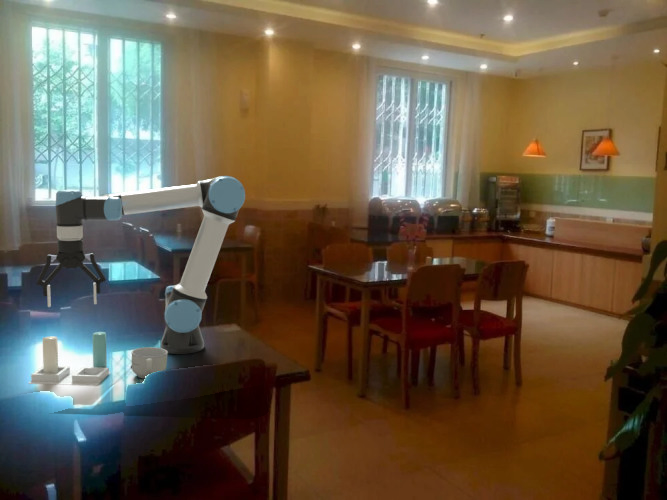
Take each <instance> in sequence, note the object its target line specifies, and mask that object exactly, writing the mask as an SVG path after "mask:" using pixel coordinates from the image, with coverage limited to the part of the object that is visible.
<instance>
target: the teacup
mask: <svg viewBox="0 0 667 500" xmlns="http://www.w3.org/2000/svg"><path fill="white" fill-rule="evenodd" d="M130 353H131V371H132V372H133V373H134V374H135V375H136V376H137V377H138V378H140V379H146V378H145V376H147V375H148V374H151V373H153V372H157V371H163V370H165V371H166V369H167V364H168V363H167V362H168V354H169V353H168V351H167V350H165V349H162V348H161V347H153V346H151V347H150V346H149V347H145V346H144V347H138V348H135V349H132V351H131V352H130Z"/></svg>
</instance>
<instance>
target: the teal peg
mask: <svg viewBox="0 0 667 500" xmlns="http://www.w3.org/2000/svg"><path fill="white" fill-rule="evenodd" d="M92 364H93V365H92V367H101V368H108V366H107V365H108V362H107V333H106V332H105V331H96V332H93V333H92Z"/></svg>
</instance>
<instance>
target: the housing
mask: <svg viewBox="0 0 667 500" xmlns="http://www.w3.org/2000/svg"><path fill="white" fill-rule="evenodd" d="M111 373H112V371H110V368H109V367H106V368H101V367H93V366H82V367H81V368H80V369H79V370H71V367H70V366H64V365H63V366H62V365H58V373H57V374H44V368H43V366H42V367H40V368H39V369H37V370H36V371H35V370H34V372H33V373H31V374H30V377H31V378H30V379H31V381H29V382H28V384H32V385H33V384H35V385H37V384H38V385H63V386H64V385H68V386H70V385H71V386H95V387H96V386H98V385H99V384H100V383H101V382H102V381H103V380H104V379H106V378H107V376H109V375H110V374H111Z"/></svg>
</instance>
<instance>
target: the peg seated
mask: <svg viewBox="0 0 667 500" xmlns="http://www.w3.org/2000/svg"><path fill="white" fill-rule="evenodd" d="M42 359H43V361H42V364H43V366H42V367H43V368H44V374H57V373H58V366H59V355H58V336H45V337H42Z"/></svg>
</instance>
